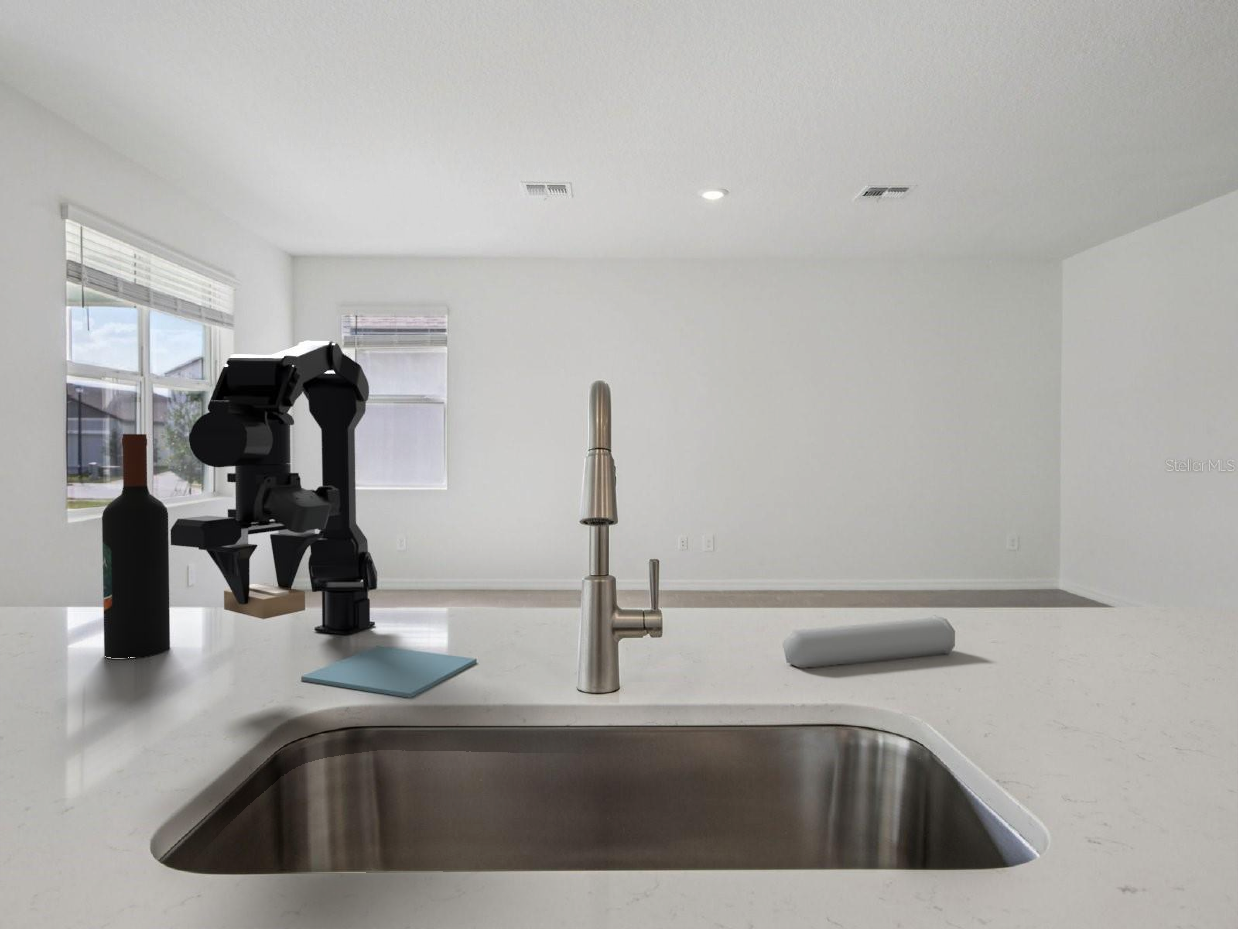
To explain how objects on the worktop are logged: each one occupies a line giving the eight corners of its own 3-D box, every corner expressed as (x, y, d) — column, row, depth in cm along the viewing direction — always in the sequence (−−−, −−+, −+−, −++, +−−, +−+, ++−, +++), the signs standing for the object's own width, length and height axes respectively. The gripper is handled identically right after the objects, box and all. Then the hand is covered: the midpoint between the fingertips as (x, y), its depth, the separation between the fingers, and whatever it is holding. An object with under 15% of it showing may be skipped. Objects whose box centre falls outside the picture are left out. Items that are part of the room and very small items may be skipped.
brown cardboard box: (224, 609, 82) (223, 588, 82) (265, 601, 87) (265, 580, 86) (263, 619, 78) (263, 596, 78) (305, 610, 82) (304, 588, 82)
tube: (800, 645, 90) (960, 629, 97) (779, 622, 95) (933, 608, 102) (792, 680, 92) (950, 662, 99) (773, 656, 97) (924, 640, 104)
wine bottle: (137, 661, 94) (133, 433, 93) (89, 657, 95) (85, 433, 94) (183, 645, 101) (180, 434, 100) (138, 642, 103) (135, 434, 102)
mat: (301, 680, 87) (301, 676, 87) (378, 649, 100) (378, 645, 100) (410, 698, 81) (410, 693, 81) (476, 662, 94) (476, 658, 94)
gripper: (242, 468, 70) (243, 625, 71) (375, 463, 87) (376, 589, 88) (166, 466, 74) (168, 614, 75) (307, 461, 92) (308, 582, 92)
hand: (264, 599), depth 82 cm, fingers closed on brown cardboard box, 5 cm apart
